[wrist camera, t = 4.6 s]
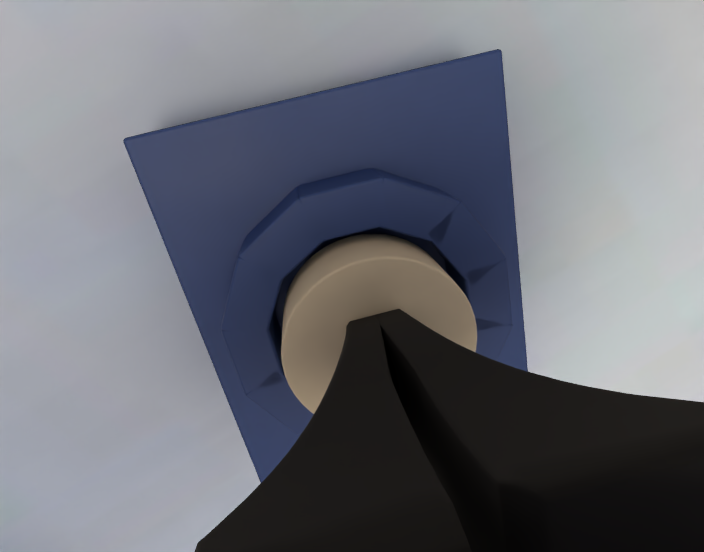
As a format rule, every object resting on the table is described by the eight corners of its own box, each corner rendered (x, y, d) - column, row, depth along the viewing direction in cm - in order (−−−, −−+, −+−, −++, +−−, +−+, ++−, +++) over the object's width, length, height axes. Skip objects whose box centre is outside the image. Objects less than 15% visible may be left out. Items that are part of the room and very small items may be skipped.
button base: (499, 371, 18) (560, 449, 14) (265, 433, 18) (257, 531, 14) (464, 59, 14) (538, 37, 10) (153, 133, 13) (89, 143, 9)
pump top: (460, 363, 13) (487, 405, 11) (308, 403, 13) (309, 453, 11) (437, 213, 12) (465, 234, 10) (261, 257, 11) (254, 287, 10)
